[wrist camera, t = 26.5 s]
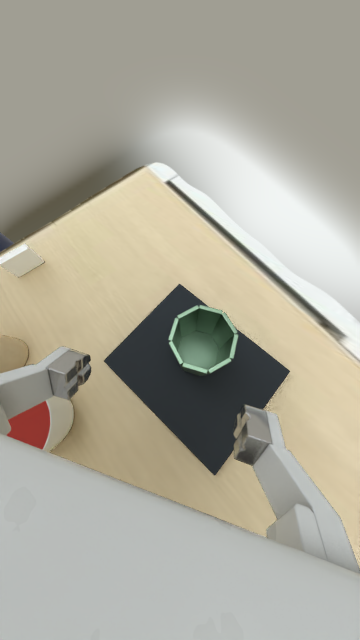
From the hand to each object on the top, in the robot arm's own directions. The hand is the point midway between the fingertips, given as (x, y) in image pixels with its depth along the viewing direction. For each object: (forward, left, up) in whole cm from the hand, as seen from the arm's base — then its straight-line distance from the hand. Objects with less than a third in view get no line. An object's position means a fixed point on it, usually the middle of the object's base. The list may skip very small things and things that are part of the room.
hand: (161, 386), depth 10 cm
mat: (0, +3, -17) cm, 18 cm away
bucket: (-2, +8, -12) cm, 15 cm away
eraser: (-31, -3, -18) cm, 36 cm away
